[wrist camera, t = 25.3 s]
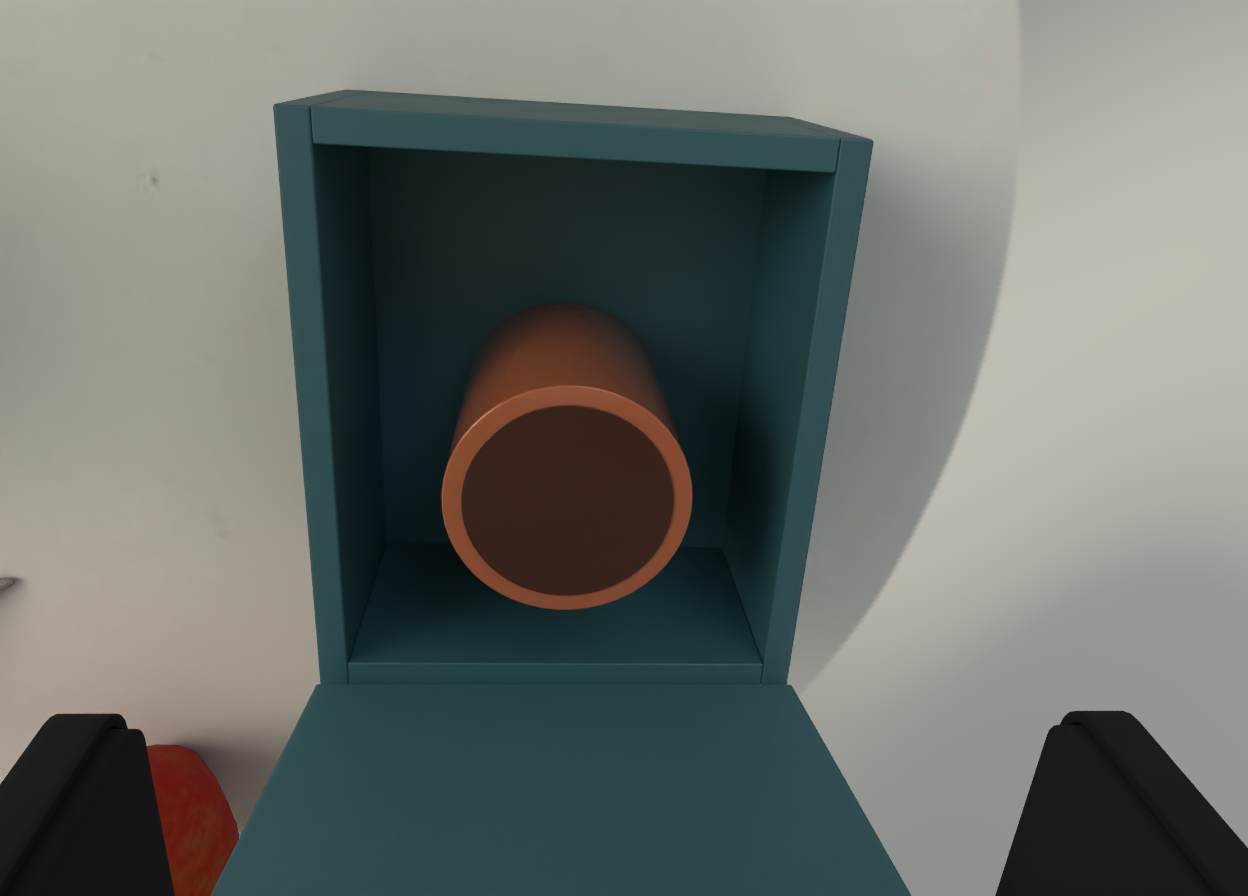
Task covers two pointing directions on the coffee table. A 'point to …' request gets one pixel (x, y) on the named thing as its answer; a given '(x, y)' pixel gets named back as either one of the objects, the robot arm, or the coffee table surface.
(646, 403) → the cup
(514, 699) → the cool box lid
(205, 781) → the apple
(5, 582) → the grey triangular spike
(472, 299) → the cool box
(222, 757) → the coffee table surface
